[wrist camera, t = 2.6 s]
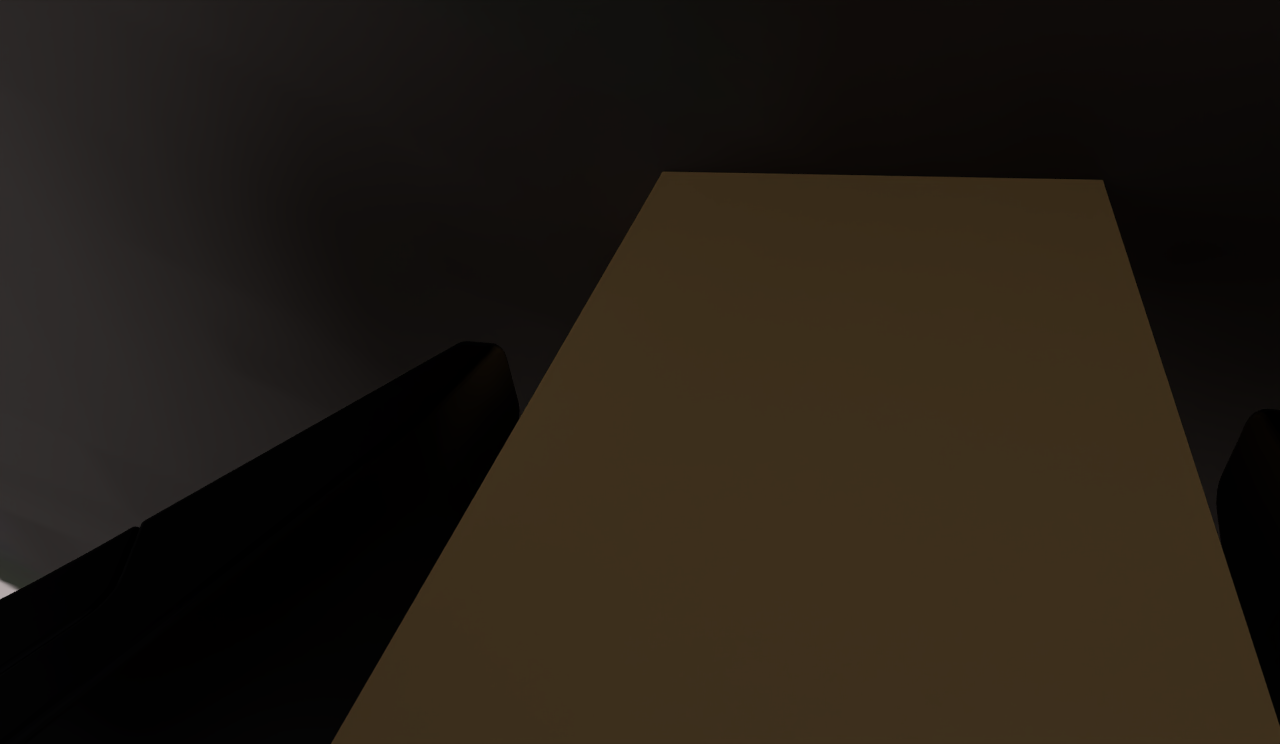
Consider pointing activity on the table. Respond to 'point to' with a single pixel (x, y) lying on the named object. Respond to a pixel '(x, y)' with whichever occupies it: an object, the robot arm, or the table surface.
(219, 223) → the table surface
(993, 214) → the domino
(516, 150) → the table surface
